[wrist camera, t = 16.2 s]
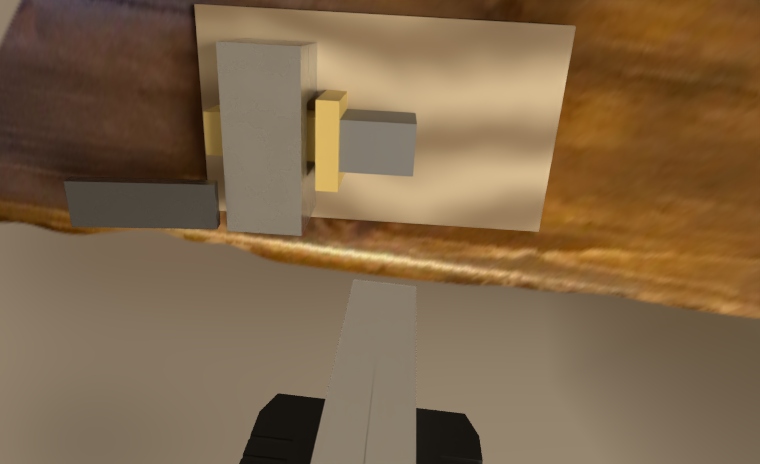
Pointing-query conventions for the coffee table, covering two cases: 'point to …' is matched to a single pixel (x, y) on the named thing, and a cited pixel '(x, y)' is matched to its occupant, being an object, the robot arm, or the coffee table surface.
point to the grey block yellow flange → (344, 140)
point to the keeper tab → (142, 203)
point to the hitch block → (267, 133)
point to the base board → (424, 107)
